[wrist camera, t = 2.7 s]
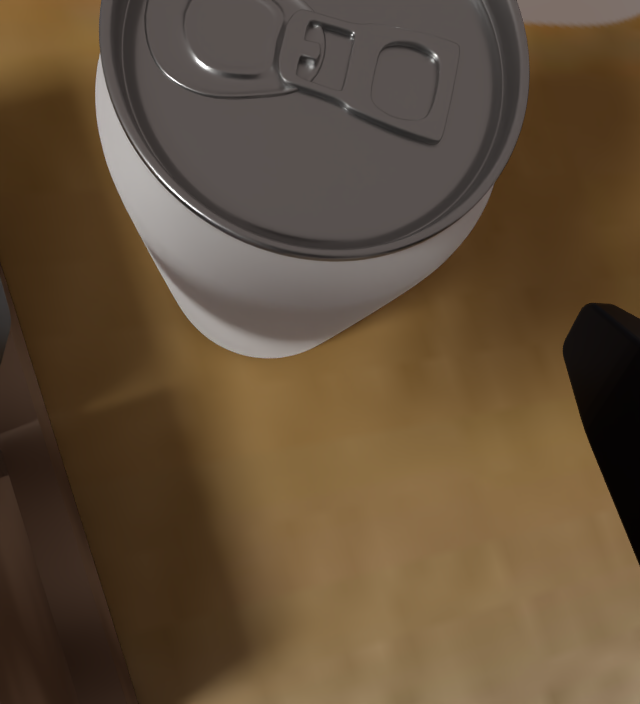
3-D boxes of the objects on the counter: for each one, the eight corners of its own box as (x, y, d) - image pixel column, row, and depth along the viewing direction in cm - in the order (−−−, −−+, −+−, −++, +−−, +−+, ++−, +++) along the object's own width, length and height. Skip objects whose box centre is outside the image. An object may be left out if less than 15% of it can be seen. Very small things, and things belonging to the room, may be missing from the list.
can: (194, 148, 19) (136, -265, 7) (377, 199, 20) (594, -94, 8) (146, 335, 18) (-7, 217, 6) (338, 379, 19) (515, 348, 7)
